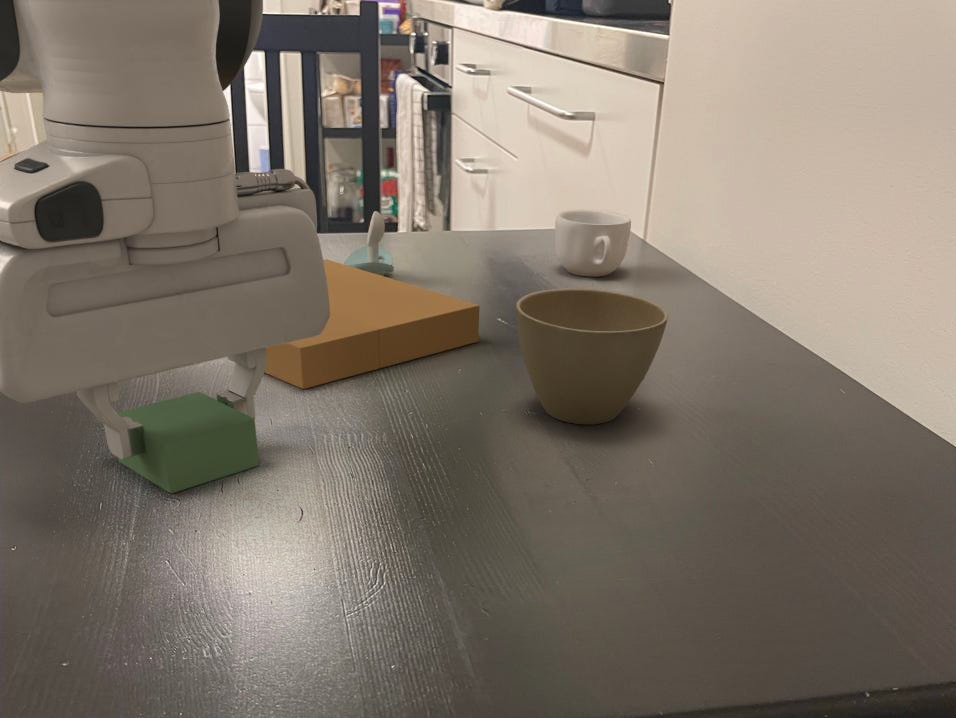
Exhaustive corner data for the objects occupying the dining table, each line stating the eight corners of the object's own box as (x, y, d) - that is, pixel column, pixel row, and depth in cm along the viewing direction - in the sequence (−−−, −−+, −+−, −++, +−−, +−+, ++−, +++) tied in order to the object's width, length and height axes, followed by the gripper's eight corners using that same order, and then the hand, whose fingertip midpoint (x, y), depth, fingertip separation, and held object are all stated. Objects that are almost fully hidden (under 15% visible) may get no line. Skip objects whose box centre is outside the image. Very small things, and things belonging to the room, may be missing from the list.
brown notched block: (157, 326, 81) (151, 289, 79) (328, 292, 92) (326, 259, 90) (303, 389, 69) (300, 347, 68) (478, 341, 80) (480, 304, 78)
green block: (117, 461, 58) (108, 413, 56) (205, 436, 62) (199, 391, 60) (171, 494, 54) (163, 444, 53) (260, 465, 58) (255, 418, 56)
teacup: (544, 263, 104) (548, 209, 101) (612, 262, 106) (618, 209, 103) (567, 286, 96) (572, 229, 93) (641, 286, 98) (648, 229, 95)
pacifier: (333, 289, 93) (395, 287, 94) (327, 219, 90) (392, 218, 90) (334, 270, 99) (392, 269, 100) (329, 204, 96) (389, 203, 96)
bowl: (489, 423, 65) (494, 315, 61) (537, 379, 73) (543, 281, 69) (633, 450, 62) (648, 338, 58) (667, 401, 70) (682, 299, 66)
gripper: (279, 158, 57) (295, 385, 65) (-83, 191, 45) (-10, 467, 53) (346, 173, 54) (355, 411, 62) (-27, 213, 41) (43, 505, 49)
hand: (184, 437), depth 57 cm, fingers closed on green block, 6 cm apart
